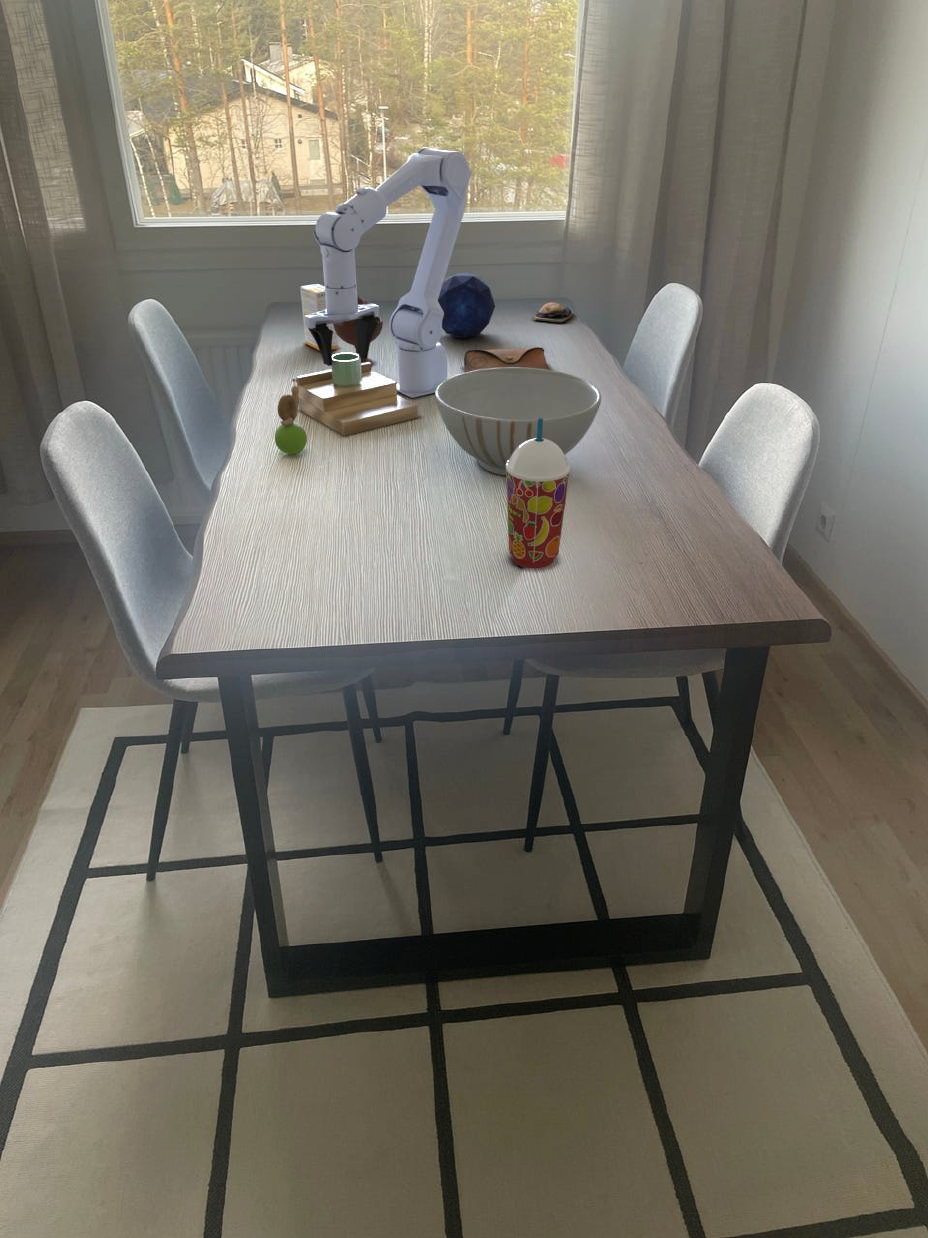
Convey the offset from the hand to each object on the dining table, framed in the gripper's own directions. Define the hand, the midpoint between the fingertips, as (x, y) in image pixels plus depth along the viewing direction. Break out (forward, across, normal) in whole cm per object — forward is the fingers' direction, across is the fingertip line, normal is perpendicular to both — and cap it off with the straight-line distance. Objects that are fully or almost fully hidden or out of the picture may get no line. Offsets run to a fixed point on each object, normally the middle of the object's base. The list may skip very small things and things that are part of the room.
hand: (345, 360), depth 173 cm
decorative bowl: (+10, +9, -40) cm, 42 cm away
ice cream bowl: (+10, +17, +24) cm, 30 cm away
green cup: (+4, 0, 0) cm, 4 cm away
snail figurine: (+9, -19, -14) cm, 25 cm away
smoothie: (+9, -11, -68) cm, 69 cm away
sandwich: (+10, +78, +28) cm, 83 cm away
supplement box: (+10, +17, +40) cm, 45 cm away
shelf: (+9, 0, -4) cm, 10 cm away
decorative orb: (+10, +49, +28) cm, 57 cm away
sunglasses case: (+10, +40, 0) cm, 41 cm away
